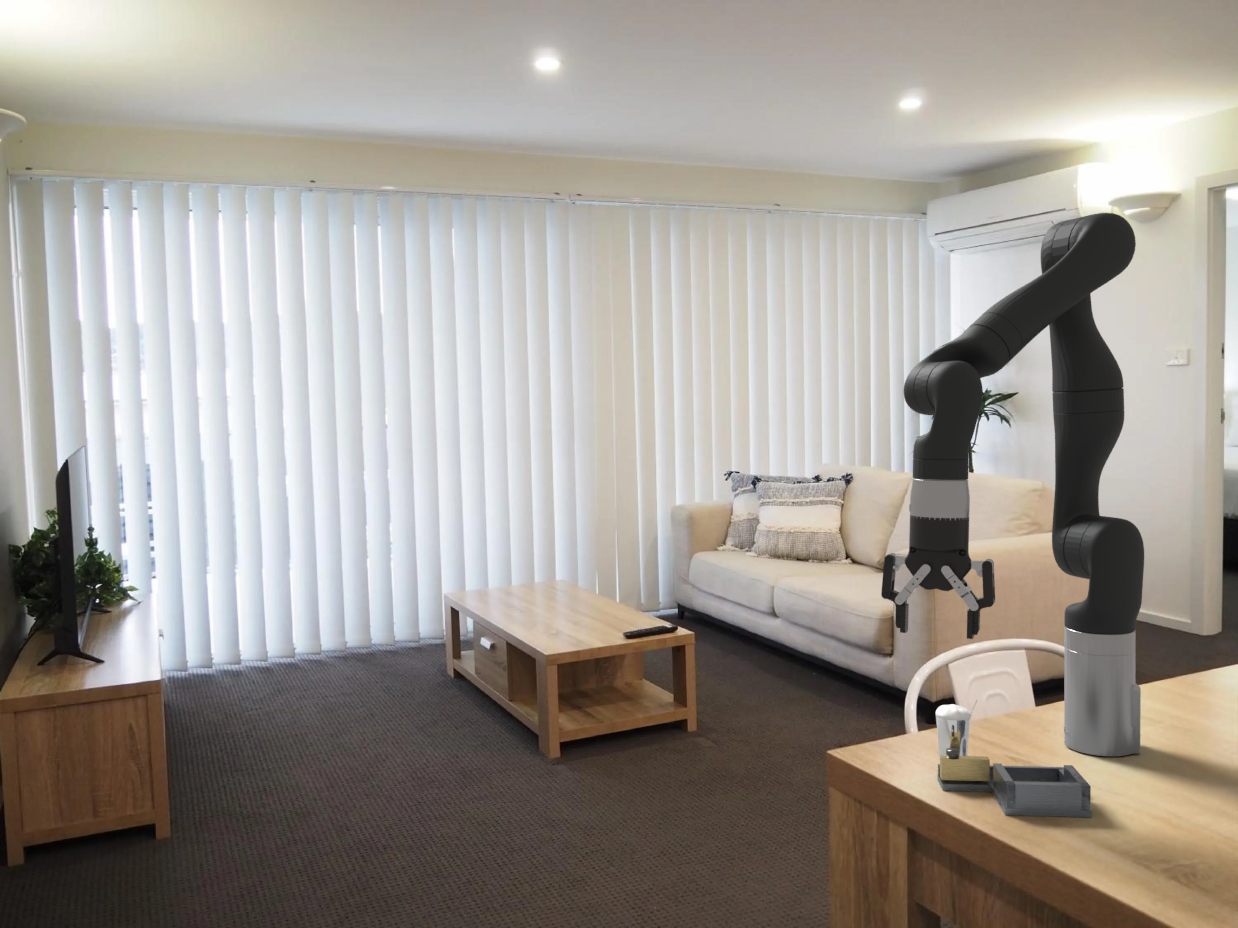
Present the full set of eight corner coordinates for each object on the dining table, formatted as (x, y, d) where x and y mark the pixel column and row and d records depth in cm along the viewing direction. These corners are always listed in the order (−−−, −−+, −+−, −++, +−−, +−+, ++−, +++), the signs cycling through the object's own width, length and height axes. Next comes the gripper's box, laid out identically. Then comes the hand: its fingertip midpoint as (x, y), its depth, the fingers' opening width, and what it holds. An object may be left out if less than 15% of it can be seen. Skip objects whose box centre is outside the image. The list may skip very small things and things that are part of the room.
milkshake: (979, 779, 138) (979, 704, 137) (937, 777, 139) (937, 703, 138) (975, 767, 142) (974, 695, 142) (934, 765, 143) (933, 694, 143)
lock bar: (987, 777, 135) (987, 748, 135) (990, 781, 134) (990, 752, 133) (939, 775, 136) (939, 747, 136) (941, 780, 134) (941, 751, 134)
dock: (1064, 782, 136) (1064, 754, 135) (1092, 817, 124) (1092, 785, 124) (937, 779, 138) (937, 751, 138) (953, 813, 126) (953, 782, 126)
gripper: (999, 513, 138) (996, 635, 138) (890, 508, 144) (887, 625, 145) (993, 518, 131) (990, 645, 132) (879, 512, 137) (876, 634, 138)
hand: (936, 634), depth 138 cm, fingers open, 8 cm apart
